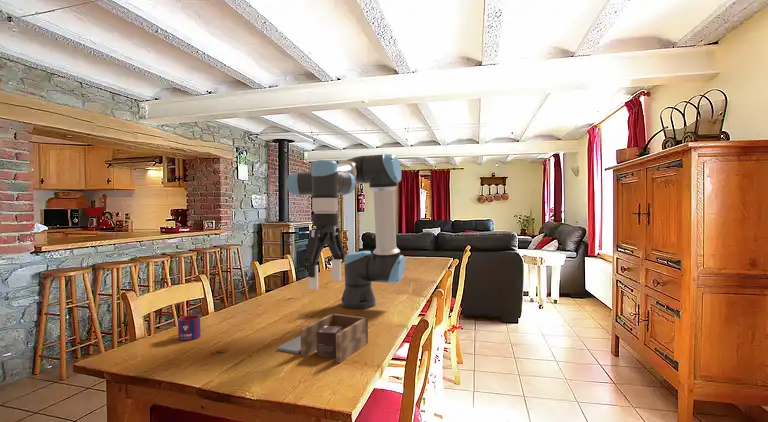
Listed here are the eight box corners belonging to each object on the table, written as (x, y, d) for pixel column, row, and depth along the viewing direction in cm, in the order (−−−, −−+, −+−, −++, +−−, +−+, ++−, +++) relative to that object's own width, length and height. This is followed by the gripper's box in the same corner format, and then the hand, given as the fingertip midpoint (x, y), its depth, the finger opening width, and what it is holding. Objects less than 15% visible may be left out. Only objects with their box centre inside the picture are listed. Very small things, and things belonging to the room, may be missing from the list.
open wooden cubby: (332, 337, 128) (332, 313, 127) (368, 342, 122) (367, 317, 122) (300, 356, 112) (300, 329, 112) (339, 363, 106) (339, 334, 106)
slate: (301, 337, 128) (301, 334, 128) (321, 340, 125) (321, 338, 125) (277, 350, 117) (277, 347, 117) (298, 353, 114) (298, 351, 114)
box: (336, 358, 110) (335, 333, 110) (316, 356, 112) (316, 331, 111) (342, 350, 116) (342, 326, 116) (323, 349, 118) (323, 325, 117)
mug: (175, 341, 126) (174, 321, 126) (186, 331, 136) (186, 312, 136) (196, 340, 127) (196, 320, 126) (206, 330, 137) (206, 311, 136)
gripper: (334, 212, 127) (334, 276, 127) (289, 213, 104) (290, 291, 104) (354, 212, 124) (355, 278, 124) (313, 213, 101) (314, 293, 101)
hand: (325, 284), depth 114 cm, fingers open, 13 cm apart
